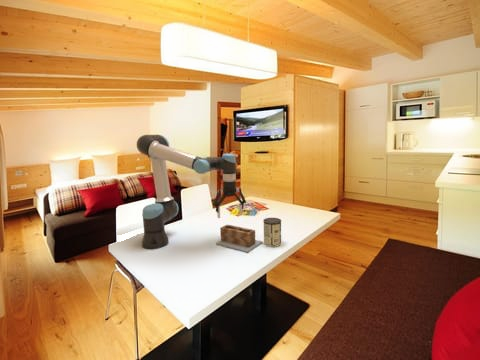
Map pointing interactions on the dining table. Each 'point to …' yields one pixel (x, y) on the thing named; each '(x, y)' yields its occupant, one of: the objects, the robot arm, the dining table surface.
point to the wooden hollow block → (237, 235)
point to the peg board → (238, 247)
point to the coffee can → (272, 232)
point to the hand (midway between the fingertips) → (229, 216)
